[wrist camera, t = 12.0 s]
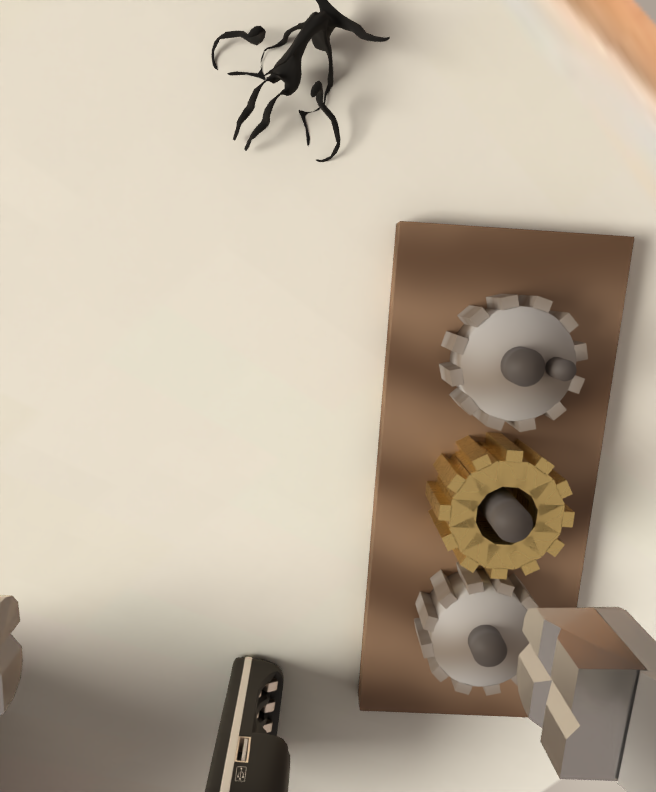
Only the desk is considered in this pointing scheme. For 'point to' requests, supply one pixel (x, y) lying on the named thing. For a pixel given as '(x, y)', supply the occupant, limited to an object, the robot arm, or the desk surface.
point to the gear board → (474, 416)
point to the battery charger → (250, 732)
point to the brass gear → (483, 473)
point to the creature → (298, 63)
